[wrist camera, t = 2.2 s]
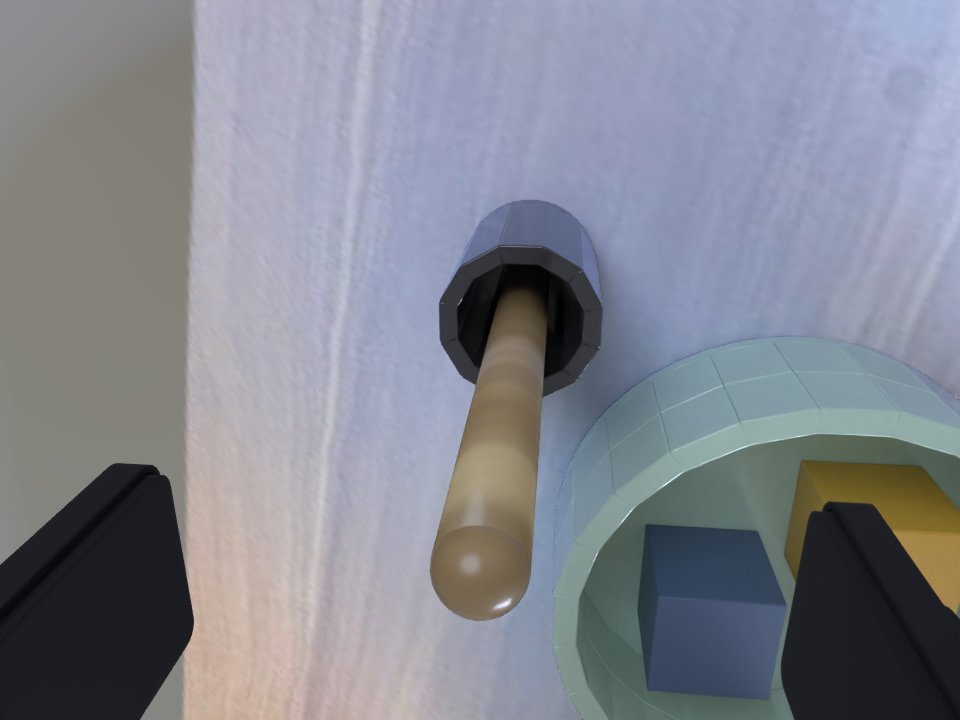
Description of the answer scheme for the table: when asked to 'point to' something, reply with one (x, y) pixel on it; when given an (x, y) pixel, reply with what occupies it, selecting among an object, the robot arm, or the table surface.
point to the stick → (497, 461)
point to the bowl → (720, 491)
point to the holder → (572, 293)
